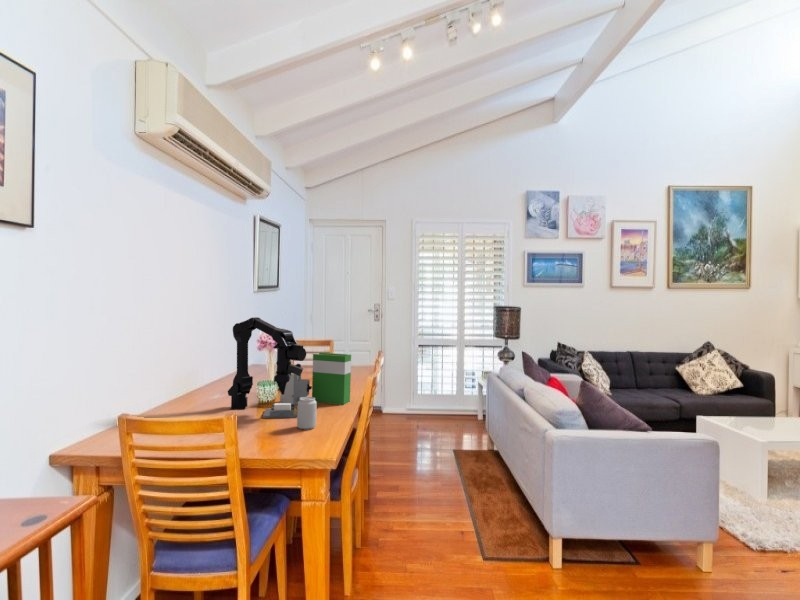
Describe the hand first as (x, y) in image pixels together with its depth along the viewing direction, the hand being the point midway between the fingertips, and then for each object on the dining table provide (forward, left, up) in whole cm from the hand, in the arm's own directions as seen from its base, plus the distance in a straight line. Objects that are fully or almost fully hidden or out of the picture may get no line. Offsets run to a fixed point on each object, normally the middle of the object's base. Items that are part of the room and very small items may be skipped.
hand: (282, 394), depth 198 cm
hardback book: (+22, +26, -10) cm, 35 cm away
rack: (0, +3, -10) cm, 10 cm away
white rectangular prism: (0, 0, -8) cm, 8 cm away
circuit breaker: (+5, +24, -10) cm, 26 cm away
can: (+11, -19, -10) cm, 24 cm away
